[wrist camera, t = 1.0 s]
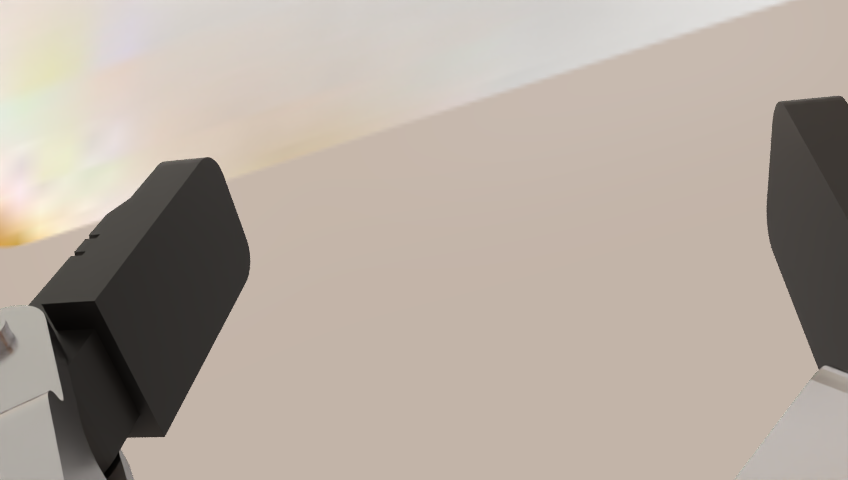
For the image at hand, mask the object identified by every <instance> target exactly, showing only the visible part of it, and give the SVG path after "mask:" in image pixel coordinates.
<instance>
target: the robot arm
mask: <svg viewBox="0 0 848 480" xmlns="http://www.w3.org/2000/svg"><path fill="white" fill-rule="evenodd" d="M767 225H768V234H769V239H770V244H771V248H772V250H773V253H774V256H775V258H776V261H777V263H778V266H779V269H780V271H781V274H782V276H783V279H784V281H785V284H786V287H787V289H788V292H789V294H790V297H791V299H792V302H793V305H794V307H795V310H796V312H797V315H798V317H799V320H800V322H801V325H802V328H803V330H804V333H805V335H806V338H807V340H808V343H809V345H810V348H811V351H812V353H813V356H814V358H815V361H816V363H817V366H818V369H819V370H818V371H817V372H816V373H815V375H814V376H813V377H812V378H811V379H810V380H809V382H808V383H807V385H806V386H805V387H804V388H803V390H802V391H801V392H800V394H799V395H798V396H797V398H796V399H795V400H794V402H793V403H792V404H791V406H790V407H789V408H788V409H787V411H786V412H785V414H784V415H783V416H782V417H781V419H780V420H779V421H778V423H777V424H776V425H775V427H774V428H773V429H772V431H771V432H770V433H769V434H768V436H767V437H766V438H765V440H764V441H763V443H762V444H761V445H760V447H759V448H758V449H757V450H756V452H755V453H754V454H753V456H752V457H751V458H750V460H749V461H748V462H747V464H746V465H745V466H744V467H743V469H742V470H741V471H740V473H739V474H738V475H737V477H736V478H735V479H734V480H848V104H847V102H846V101H845V99H844V98H843V97H841V96H832V97H821V98H812V99H801V100H791V101H781V102H778V103H777V105H776V107H775V110H774V116H773V124H772V138H771V152H770V167H769V181H768V194H767ZM249 270H250V252H249V246H248V243H247V239H246V237H245V234H244V231H243V228H242V225H241V223H240V220H239V217H238V214H237V212H236V209H235V206H234V203H233V200H232V198H231V195H230V192H229V189H228V187H227V184H226V181H225V178H224V175H223V173H222V171H221V169H220V167H219V165H218V164H217V162H216V161H215V160H213V159H212V158H209V157H206V158H196V159H186V160H176V161H166V162H162V163H160V164H159V165H158V166H157V167H156V168H155V170H154V171H153V172H152V173H151V174H150V175H149V177H148V178H147V179H146V180H145V181H144V183H143V184H142V185H141V186H140V187H139V189H138V190H137V191H136V192H135V193H134V194H133V196H132V197H131V198H130V199H128V200H127V201H125V202H124V203H123V204H121V205H120V206H118V207H117V208H115V209H114V210H113V211H111V212H110V213H108V214H107V215H106V216H105V217H104V218H103V219H102V221H101V222H100V223H99V224H98V225H97V227H96V228H95V229H94V230H93V231H92V232H91V233H90V235H89V239H85V240H84V242H83V243H82V244H81V245H80V246H79V247H78V248H77V250H76V251H75V256H71V257H70V258H69V259H68V260H67V261H66V262H65V264H64V265H63V266H62V267H61V268H60V269H59V271H58V272H57V273H56V274H55V275H54V277H52V279H51V280H50V281H49V282H48V283H47V285H46V286H45V287H44V288H43V289H42V290H41V291H40V293H39V294H38V295H37V296H36V297H35V298H34V300H33V301H32V302H31V303H30V304H29V305H28V306H26V305H20V306H11V307H5V308H1V309H0V480H134V479H133V475H132V472H131V469H130V466H129V464H128V461H127V459H126V458H125V456H124V454H123V452H122V451H121V447H122V445H123V443H124V442H125V440H126V438H128V437H165V435H166V433H167V431H168V429H169V427H170V426H171V424H172V422H173V420H174V418H175V416H176V414H177V412H178V410H179V409H180V407H181V405H182V403H183V401H184V399H185V397H186V395H187V393H188V391H189V389H190V387H191V386H192V384H193V382H194V380H195V378H196V376H197V374H198V372H199V371H200V369H201V366H202V365H203V363H204V361H205V359H206V357H207V355H208V353H209V352H210V350H211V348H212V346H213V344H214V342H215V340H216V338H217V336H218V334H219V333H220V330H221V329H222V327H223V325H224V323H225V321H226V319H227V317H228V315H229V313H230V312H231V309H232V308H233V306H234V304H235V302H236V300H237V298H238V296H239V294H240V292H241V291H242V289H243V287H244V285H245V283H246V281H247V278H248V275H249Z"/></svg>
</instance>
